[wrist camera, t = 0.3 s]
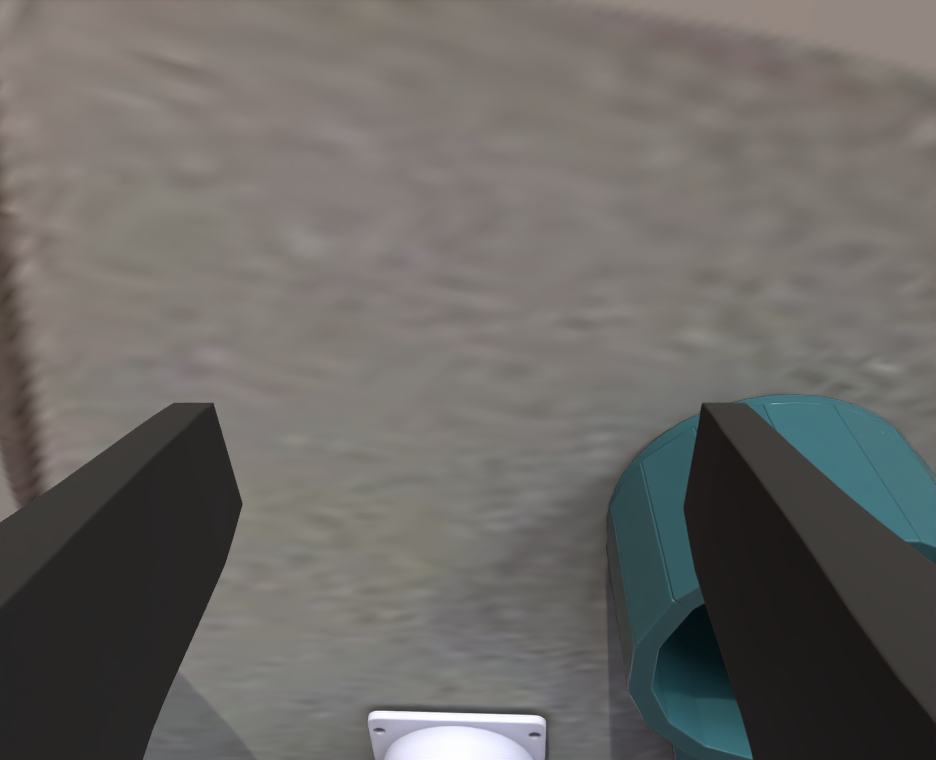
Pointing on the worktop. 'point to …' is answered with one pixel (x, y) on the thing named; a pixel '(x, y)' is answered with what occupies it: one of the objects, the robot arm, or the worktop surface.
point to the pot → (672, 570)
